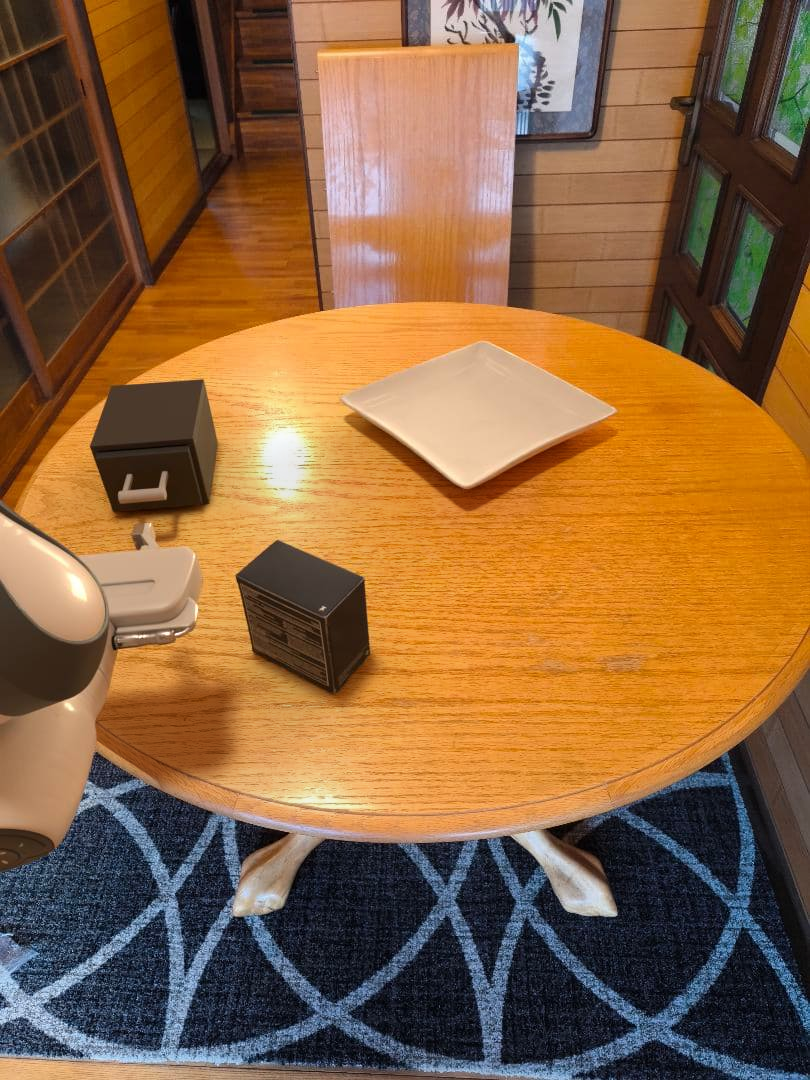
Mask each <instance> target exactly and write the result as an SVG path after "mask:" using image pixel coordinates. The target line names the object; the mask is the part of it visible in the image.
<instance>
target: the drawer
mask: <svg viewBox="0 0 810 1080" xmlns="http://www.w3.org/2000/svg"><path fill="white" fill-rule="evenodd" d="M95 459H96V462H97V465H98V468H99V470H100V473H101V476H102V479H103V482H104V484H105V487H106V490H107V493H108V496H109V498H110V501H111V504H112V507H113V510H114V512H115V513H116V512H117V513H118V512H127V511H138V510H150V509H151V510H152V509H164V508H175V507H189V506H199V505H200V506H201V505H203V504H202V500H203V498H202V494H201V490H200V486H199V482H198V478H197V474H196V470H195V466H194V462H193V458H192V454H191V450H190V446H188V444H186V445H173V446H161V447H148V448H135V449H122V450H109V451H108V452H100V453H97V455H96V458H95ZM97 465H96V466H97ZM98 468H97V469H98ZM102 479H101V480H102ZM103 482H102V483H103ZM107 493H106V494H107ZM108 496H107V497H108ZM112 507H111V508H112ZM113 510H112V511H113Z"/></svg>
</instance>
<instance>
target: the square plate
mask: <svg viewBox="0 0 810 1080" xmlns="http://www.w3.org/2000/svg"><path fill="white" fill-rule="evenodd" d="M339 401H340V402H341V403H342V404H343V405H345V406H346V407H348V408H349V409H350V410H351V411H353V412H355V413H357V414H358V415H359V416H361V417H362V418H364V419H365V420H366V421H368V422H369V423H371V424H372V425H374V426H375V427H376V428H379V429H381V430H382V431H383V432H385V433H387V434H388V435H389V436H391V437H393V438H394V439H395V440H397V442H400V443H401V444H402V445H404V446H405V447H406V448H408V449H409V450H410V451H412V452H413V453H415V454H416V455H417V456H418V457H420V458H421V459H422V460H423V461H424V462H426V463H427V464H428V465H430V466H431V467H432V468H433V469H435V470H436V471H437V472H438V473H440V474H441V475H442V476H443V477H445V478H446V479H447V480H449V481H450V482H451V483H453V484H454V485H456V486H457V487H460V488H461V489H463V490H464V489H465V490H470V489H473V488H475V487H477V486H480V485H482V484H484V483H485V482H488V481H490V480H492V479H494V478H495V477H497V476H500V475H501V474H503V473H504V472H506V471H508V470H510V469H511V468H513V467H515V466H517V465H519V464H521V463H523V462H525V461H527V460H528V459H530V458H532V457H534V456H536V455H538V454H540V453H542V452H544V451H546V450H548V449H550V448H552V447H554V446H556V445H559V444H560V443H563V442H565V441H567V440H569V439H572V438H574V437H576V436H580V435H581V434H583V433H586V432H587V431H589V430H592V429H593V428H595V427H597V426H599V425H601V424H602V423H604V422H605V421H606V420H608V419H610V418H611V417H613V416H615V415H616V414H617V413H618V409H616V408H615V407H614V406H612V405H610V404H608V403H607V402H605V401H603V400H602V399H599V398H597V397H596V396H594V395H592V394H590V393H588V392H587V391H584V390H582V389H581V388H579V387H577V386H575V385H573V384H572V383H570V382H568V381H566V380H564V379H562V378H560V377H558V376H556V375H555V374H554V373H551V372H549V371H547V370H545V369H544V368H541V367H539V366H537V365H535V364H534V363H531V362H529V361H527V360H526V359H523V358H522V357H520V356H517V355H516V354H514V353H512V352H510V351H507V350H506V349H504V348H501V347H500V346H498V345H496V344H493V343H491V342H489V341H487V340H480V341H477V342H473V343H472V344H469V345H465V346H463V347H461V348H458V349H455V350H452V351H450V352H447V353H445V354H441V355H440V356H436V357H433V358H431V359H428V360H425V361H423V362H420V363H418V364H415V365H413V366H410V367H407V368H405V369H402V370H400V371H397V372H395V373H392V374H390V375H387V376H385V377H382V378H379V379H378V380H375V381H373V382H370V383H368V384H365V385H363V386H360V387H358V388H356V389H354V390H351V391H348V392H347V393H344V394H342V395H341V396H340V397H339Z"/></svg>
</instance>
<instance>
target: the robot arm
mask: <svg viewBox="0 0 810 1080" xmlns="http://www.w3.org/2000/svg"><path fill="white" fill-rule="evenodd" d="M130 536H131V538H132V541H133V542H134V548H135V549H136V550H127V551H126V550H125V551H116V552H115V551H114V552H105V553H93V554H82V555H77V554H75V553H74V552H72V551H71V549H69V548H67V547H66V546H65V545H63V544H62V543H60V542H59V541H58V540H56V539H55V538H53V537H52V536H51V535H49V534H47V533H46V532H44V531H42V530H41V529H40V528H38V527H36V526H35V525H34V524H33V523H31V522H29V520H27V519H25V518H24V517H22V515H20V514H18V513H17V512H16V511H15V510H13V509H12V508H11V507H10V506H9V505H8V504H6V503H5V502H4V501H3V500H2V499H1V498H0V872H1V873H3V872H8V871H11V870H15V869H17V868H20V867H23V866H26V865H28V864H31V863H33V862H36V861H37V860H40V859H41V858H44V857H45V856H47V855H49V854H51V852H53V851H54V850H56V849H57V848H58V846H60V844H61V843H62V842H63V840H64V839H65V837H66V835H67V833H68V832H69V830H70V828H71V827H72V824H73V821H74V820H75V817H76V815H77V812H78V810H79V807H80V804H81V801H82V798H83V796H84V793H85V789H86V786H87V782H88V779H89V775H90V772H91V768H92V765H93V760H94V756H95V752H96V751H95V750H96V747H97V728H96V721H97V718H98V715H99V714H100V712H102V709H103V707H104V705H105V703H106V702H107V698H108V694H109V691H110V686H111V681H112V678H113V675H114V674H113V673H114V668H115V665H116V660H117V656H118V652H119V650H124V649H135V648H140V647H141V648H142V647H145V646H152V645H153V646H154V645H157V646H165V645H166V646H167V645H170V644H174V643H176V640H177V639H179V638H182V637H184V636H187V635H188V634H189V633H192V632H193V631H194V630H195V628H196V626H197V622H198V617H199V616H198V615H199V605H198V602H199V599H200V596H201V593H202V586H203V580H204V579H203V578H204V577H203V572H202V568H201V563H200V560H199V557H198V555H197V553H195V552H194V551H193V550H192V549H191V548H190V547H188V546H174V547H173V546H171V547H164V548H163V547H161V548H160V547H159V544H158V542H157V540H156V532H155V529H154V525H153V523H152V522H145V523H134V524H133V528H132V530H131V535H130Z"/></svg>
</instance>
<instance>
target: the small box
mask: <svg viewBox="0 0 810 1080" xmlns="http://www.w3.org/2000/svg"><path fill="white" fill-rule="evenodd" d="M235 581H236V583H237V587H238V590H239V593H240V599H241V603H242V607H243V612H244V617H245V620H246V621H245V622H246V625H247V631H248V634H249V639H250V645H251V651H252V652H253V653H256V655H257V654H258V655H259V656H260V657H262V658H265V659H266V660H268V661H270V662H272V663H274V664H276V665H278V666H280V667H281V668H284V669H285V670H286V671H287V670H288V671H289V672H291V673H293V674H295V675H297V676H299V677H301V678H302V679H304V680H306V681H308V682H310V683H311V684H314V685H316V686H318V687H320V688H321V689H323V690H326V691H327V692H328V693H331V694H333V695H335V694H337V693H338V692H339V691H340V690H341V689H342V687H343V686H344V685H345V684H347V681H348V680H349V679H350V678H351V676H352V675H353V674H354V673H355V672H356V671H357V670H358V669H359V668H360V666H362V665H363V663H364V662H365V661H366V660H367V659H368V657H369V656H370V654H371V646H370V635H369V621H368V607H367V606H368V605H367V594H366V578H365V576H362V575H360V574H358V573H355V572H353V571H351V570H349V569H346V568H344V567H341V566H339V565H336V564H334V563H332V562H330V561H328V560H326V559H323V558H320V557H318V556H316V555H313V554H311V553H309V552H307V551H304V550H302V549H299V548H297V547H295V546H293V545H290V544H288V543H286V542H284V541H281V540H280V539H276V540H275V541H274V542H272V543H271V544H270V545H268V547H266V548H265V549H264V550H262V551H261V553H260V554H259V553H258V555H257V556H256V557H254V558H253V559H252V560H251V561H250V562H249V563H247V565H245V566H244V567H242V569H241V570H240V571H238V572H237V573H236V574H235Z"/></svg>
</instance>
